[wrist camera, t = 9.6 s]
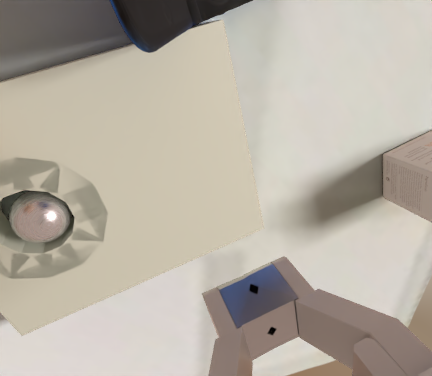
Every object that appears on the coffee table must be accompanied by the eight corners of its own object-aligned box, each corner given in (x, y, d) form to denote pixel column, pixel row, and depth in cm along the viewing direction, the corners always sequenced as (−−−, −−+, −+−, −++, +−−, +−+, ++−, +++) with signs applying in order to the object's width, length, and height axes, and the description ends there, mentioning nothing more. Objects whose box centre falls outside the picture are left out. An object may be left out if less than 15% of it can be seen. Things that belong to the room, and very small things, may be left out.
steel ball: (-8, 199, 19) (1, 218, 17) (47, 174, 21) (63, 187, 18) (22, 240, 21) (34, 263, 18) (70, 213, 23) (87, 230, 20)
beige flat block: (-134, 119, 16) (-168, 131, 14) (209, 21, 20) (223, 19, 18) (28, 310, 24) (21, 335, 22) (251, 214, 28) (264, 228, 26)
